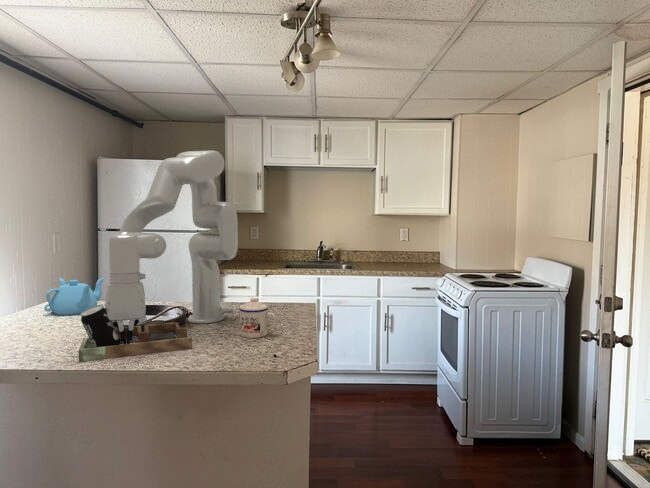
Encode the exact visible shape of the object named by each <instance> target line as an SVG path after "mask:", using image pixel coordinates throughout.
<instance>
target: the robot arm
mask: <svg viewBox="0 0 650 488" xmlns="http://www.w3.org/2000/svg"><path fill="white" fill-rule="evenodd" d="M224 169H225V158H224V157H223V155H222V154H221V153H220V152H219V151H217V150H189V151H184V152H179V153H178V154H177V155H176V157H168V158H165V159H163V160H162V161H161V162H160V163H159V165H158V168H157V170H156V172H155V175H154V178H153V180H152V183H151V184H150V189H149V191H148V193H147V195H146V197H145V199H143V200H142V201H141V202H140V203H139V204H138V205H137V206H136V207H134V208H133V210H131V212H130V213H128V215H127V216H126V217H125V218H124V221H123V222H122V224H121V227H120V228H119V229H120V230H119V232H118V234H113V235H111V236H110V237H109V238H108V239H109V240H108V253H109V255H108V257H109V260H108V261H109V262H108V263H109V283H107V284H106V289H105V297H104V298H105V302H104V303H105V304H104V305H105V306H104V308H105V310H106V312H107V315H108V318H109V320H110V321H112V322H113V325H114V327H115V328H117V329H119V331H120V335H121V342H123V344H131V343H130V341H132V330H133V328H134V327H135V326H138V324H140V323H145V322H147V321H148V319H147V315H146V311H147V309H146V307H147V306H146V296H145V295H146V294H145V287H144V283H143V282H142V281H141V280H143V279H146V273H141V271H140V269H141V267H140V259H147V260H149V259H151V260H152V259H157V258H160V257H161V256H162V255H163V254H165V251H166V249H167V242H166V240H165V238H164V237H163V236H162V235H160V234H158V233H155V232H143V231H144V229H145V228H146V227H147V225H148V224H150V223H151V222H153V221H154V220H157V219H158V218H160V217H162V216H165V215H167V214H168V213H170V212H172V211H174V209H175V208H176V206H177V203H178V200H179V197H180V193H181V191H182V189H183V186H185V185H189V187H190V191H191V192H190V193H191V211H192V212H191V213H192V221H193V225H194V226H195V227H196V228H199V229H209V230H213V229H214V230H215V229H216V230H218V232H214V231H213V232H210V231H209V232H207V231H206V232H205V231H203V232H197V233H194V234H193V235H192V236H191V237H190V239H189V241H188V250H189V256H190V260H191V276H192V277H191V278H192V280H191V281H192V283H191V284H192V286H191V288H192V314H190V315H189V316H188V319H187V321H189V322H190V323H193V324H211V323H217V322H221V321H223V320H224V319H225V314H233V313H234V307H222V305H221V303H220V302H221V291H220V290H221V287H220V286H221V285H220V283H221V281H220V279H221V278H220V276H221V275H220V273H221V272H220V268H219V265H218V263H217V261H216V260H219V261H220V260H221V261H222V260H223V261H229V260H232V259H234V258H236V255H237V253H238V248H239V247H238V246H239V234H238V233H239V232H238V231H239V230H238V227H239V225H238V222H239V221H238V213H237V210H236V208H235V206H234V205H233V204H232V203H230V202H228V201H218V196H217V194H218V193H217V187H216V184H215V182H214V180H213V179H214V178H217V177H218V176H220V175H221V174H222V172H223V171H224ZM124 321H128V326H125V325H124ZM125 327H127V343H126V329H125Z"/></svg>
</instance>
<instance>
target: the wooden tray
mask: <svg viewBox="0 0 650 488" xmlns="http://www.w3.org/2000/svg"><path fill="white" fill-rule="evenodd" d="M143 326H144V328H143V329H144V331H142V325H136V326H135V327H134V328H133V330H132V341H130V344H127V327H128V326H124V327H125V329H126V344H124V343H123V342H120V345H114V346H105V347H96V348H94V347H93V345H92V343H91V341H90V339H89V337H88V336H87V337H83V338H82V340H81V344H80V347H79V349H78V363H79V362H80V363H81V362H89V361H97V360H105V359H106V360H107V359H115V358H121V357H131V356H132V357H133V356H139V355H148V354H155V353H164V352H172V351H173V352H174V351H180V350H189V349H192V348H193V338H192V336H190V337H189V336H188V327H181V326H180V324H179V322H178V321H176V322H175V321H174V322H165V323H156V324H155V323H154V324H153V323H152V324H144V325H143ZM115 329H116V331H117V333H118V336H119V338H120V340H121V335H120V331H119V329H117V328H116V327H115Z"/></svg>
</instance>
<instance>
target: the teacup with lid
mask: <svg viewBox="0 0 650 488" xmlns="http://www.w3.org/2000/svg"><path fill="white" fill-rule="evenodd" d="M238 309H239V334H240V336H241V337H243V338H247V339H257V338H262V337H265V336H266V335H268V329H272V328H273V327H274V326H275V325H276V323H277V316H276V315H275V313H273V312H268V310H269V306H268V305H267V304H266V303H262V302H261V301H258V299H257V298H256V297H251V298H250V301H247V302H246V303H244V304H241V305H240V306H239V308H238ZM268 316H271V317H272V319H273V322H272V324H271V325H268Z"/></svg>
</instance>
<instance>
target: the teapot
mask: <svg viewBox="0 0 650 488" xmlns="http://www.w3.org/2000/svg"><path fill="white" fill-rule="evenodd" d="M105 278H106V277H101V278H99V279H97V281H96V283H95V287H94V290H92V288H91V286H92V285H89V284H87V283H79V280H78V279H71V280H68V284H66V281H65V279H64V278H63V277H59V278H58V280H59V287H57V288H55V287H54V288H51V289H48V290H47V292H46V294H45V298H46V301H47V304H45V306H44V308H43V309H44V311H45V312H52V313H53V314H55V315H57V316H75V315H77V316H78V315H80V314H81V313H82V312H83V311H85V310H87V309H89V308H91V307H94V306H97V305H98V301H99V300H100V298H101V296H102V282H103V281H104V280H105ZM53 292H54V293H53ZM51 293H53V295H52V297H51ZM48 307H49V308H48Z"/></svg>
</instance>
